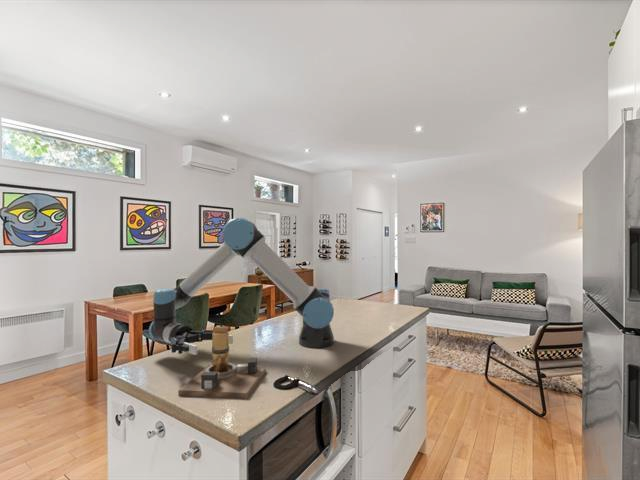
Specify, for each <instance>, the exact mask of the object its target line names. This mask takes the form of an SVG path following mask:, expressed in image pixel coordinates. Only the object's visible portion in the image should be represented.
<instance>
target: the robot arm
mask: <svg viewBox="0 0 640 480" xmlns="http://www.w3.org/2000/svg"><path fill="white" fill-rule="evenodd" d="M222 239H223V243H222V244H221V245H220V246H219V247H217V248H216V250H214V251H213V252H212V253H211V254H210V255H209V256H208V257H207V258H206V259H205V260H204V261H203V262H202V263H200V264H199V265H198V266H197V267H196V268H195V269H194V270H193V271H192V272H191V273H190V274H189V275H188V276H186V278H184V280H182V281H181V282H180V283H179V284H178V285H177V286H176V287H174V288H160V289H159V288H158V289H156V290H154V292H153V298H152V302H153V321H152V322H151V323H150V325H149V327H148V333H149V336H151V338H153V339H154V340H156V341H160V342H164V343H166V344H168V346H169V347H170V349H171V353H173V354H174V353H177V351H178V355H181V354H183V352H184V353H188V354H191V355H194V356H196V355H198V345H196V344H193V343H200V342H203V341H212V333H213V329H212V330H211V329H200V330H199V331H198V330H194V329H193V328H192V327H191V326H190V325H187V324H183V323H180V322H176V310H178V309H179V308H182V307H185V306H186V305H187V304H188V303H189V302H190V300H191V299H192V298H193V297H194V296H195V295H196V294H197V293H198V292H199V291H200V290H201V289H202V288H203V287H205V286H206V285H207V284H208V283H209V282H210V281H211V280H212V279H213V278H214V277H215V276H216V275H218V274H219V273H220V271H222V270H223V269H224V268H225V267H226V266H227V265H228V264H229V263H230V262H231V261H232V260H233V259H234V258H236V257H237V256H238V257H239V256H240V257H241V258H242V259H249V260H250V261H251V262H252V263H253V264H254V265H255V266H256V267H257V268H258V269H259V270H260V271H261V272H262V273H263V274H264V275H266V277H267V278H268V279H269V280H270V281H272V282H273V284H274V285H276V287H277V288H278V289H279V290H280V291H281V292H283V294H284V295H285V296H287V297H288V298H289V300H291V301H292V302H293V309H294V310H295V311H296V312H297V313H298V314H299V315H300V316H301V318H302V327H301V328H300V329H301V330H300V333H299V336H298V344H299V345H300V346H302V347H306V348H314V349H315V348H325V347H329V345H330V346H332V345H334V343H335V336H334V334H333V331H332V330H333V329H332V328H331V322H332V321H333V318H334V316H335V315H334V313H335V312H334V311H335V310H334V306H333V304H332V302H331V301H330V296H331V294H330V290H329V288H328V289H327V288H317V287H316V286H311V285H308V283H306V282H305V281H304V280H303V279H302V277H300V276H299V275H298V273H296V272H295V271H294V270H293V269H292V268H291V267H290V266H289V265H288V264H287V263H286V262H285V261H284V260H283V259H282V258H281V257H280V256H279V255H278V254H277V253H276V252H275V251H274V250H273V249H272V248H271V247H270V246H269V245H268V244H267V242H266V236H265V235H264V234H263V233H262V232H261V231H260V230H259V229H258V228H257V226H256V224H254V223H253V222H252V221H249V220H248V219H246V218H245V217H244V218H243V217H236V218H232V219H230V220H228V222H227V223H226V224H224V227H223V229H222ZM233 341H234V336H233V335H232V334H229V344H230V345H232V344H233V343H234V342H233ZM331 344H332V345H331Z"/></svg>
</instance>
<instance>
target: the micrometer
mask: <svg viewBox="0 0 640 480" xmlns="http://www.w3.org/2000/svg"><path fill="white" fill-rule="evenodd" d="M288 380H289V381H291V382H290V383H288V384H282V383H283V382H285V381H288ZM295 386H296V387H298V388H300V389H302V390H304V391H306V392H308V393H310V394H312V393H314V395H317V394H318V393H319V389H318V388H316V386H315V385H313V384H310V383H308V382H306V381H304V380H301V379H300V378H299V377H298V376H296V377H294V378H292V377H291V376H289V375H287V374H285V375H284V376H282V377H279V378H277V379H276V380H275V381H274V382H273V388H275V389H276V390H279V391H282V390H283V391H286V390H292V389H293V388H294V387H295Z"/></svg>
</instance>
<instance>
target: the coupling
mask: <svg viewBox="0 0 640 480" xmlns="http://www.w3.org/2000/svg"><path fill="white" fill-rule="evenodd" d="M212 330H213V333H212V340H211V343H212V347H211V353H212V356H211V357H212V358H211V359H212V365H213V372H219V373H222V372H227V371H229V363H230V355H229V353H230V346H229V335H230V333H229V330H228V326H214V327H213V329H212Z"/></svg>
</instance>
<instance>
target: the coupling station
mask: <svg viewBox="0 0 640 480" xmlns="http://www.w3.org/2000/svg"><path fill="white" fill-rule="evenodd" d="M248 358H249V359H248V361H247V363H240V364H239V363H238V364H237V365H236V364H234V363H232V362H229V371H227V372H222V373H219V372H213V364H211V365H206V367H205V368H204V369H203V370H200V372H199V373H198V374H196V375H195V376H194V377H193V378H192V379H190V380H189V381H187V383H185V384H184V385H183V386H181V387H180V388H179V389H178V390H177V392H178V393H177V394H178V395H180V397H182V396H183V397H202V398H203V397H204V398H231V399H247V398H248V397H249V396H250V394H252V392H253V391H254V389H255V388H256V386H257V385H258V383H259V382H260V381H261V379H262V377H264V375H265V373H266V371H267V369H266V366H258V357H248Z"/></svg>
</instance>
